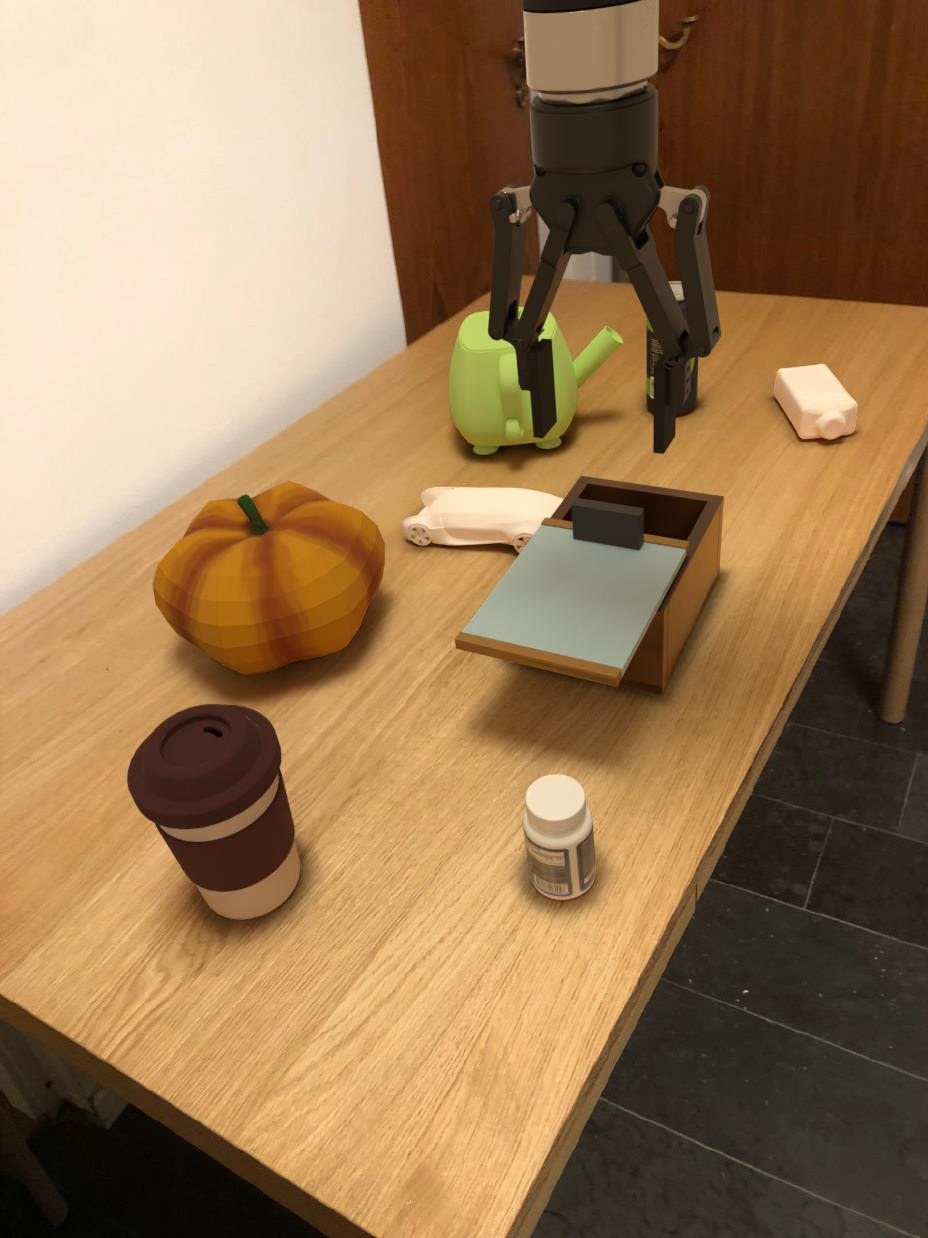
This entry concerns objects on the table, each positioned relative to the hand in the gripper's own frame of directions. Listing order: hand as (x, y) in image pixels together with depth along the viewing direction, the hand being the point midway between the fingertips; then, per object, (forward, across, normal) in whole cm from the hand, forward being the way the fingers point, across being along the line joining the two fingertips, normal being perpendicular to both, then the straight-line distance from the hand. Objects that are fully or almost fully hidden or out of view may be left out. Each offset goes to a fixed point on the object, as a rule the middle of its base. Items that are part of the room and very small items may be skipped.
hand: (603, 436), depth 70 cm
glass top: (+14, +2, +2) cm, 14 cm away
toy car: (+24, +20, -17) cm, 35 cm away
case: (+23, +2, -8) cm, 25 cm away
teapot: (+24, +25, -42) cm, 54 cm away
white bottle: (+24, -7, -51) cm, 57 cm away
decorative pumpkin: (+24, +32, +4) cm, 40 cm away
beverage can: (+24, +10, -50) cm, 56 cm away
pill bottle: (+24, -4, +21) cm, 32 cm away
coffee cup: (+24, +17, +30) cm, 42 cm away
